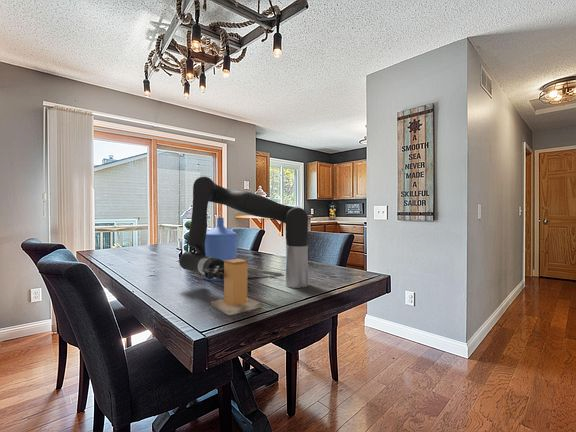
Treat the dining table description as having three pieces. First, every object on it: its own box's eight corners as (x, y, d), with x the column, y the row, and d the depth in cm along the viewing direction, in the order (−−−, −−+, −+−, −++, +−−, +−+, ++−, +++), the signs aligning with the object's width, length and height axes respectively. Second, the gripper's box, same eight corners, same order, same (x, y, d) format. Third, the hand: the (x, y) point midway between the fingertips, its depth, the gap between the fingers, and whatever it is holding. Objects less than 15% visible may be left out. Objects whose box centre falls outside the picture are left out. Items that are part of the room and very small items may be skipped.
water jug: (227, 282, 135) (228, 218, 134) (196, 279, 140) (196, 218, 139) (242, 275, 150) (242, 217, 149) (213, 272, 155) (213, 217, 154)
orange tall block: (238, 298, 107) (238, 258, 107) (247, 302, 103) (247, 260, 102) (224, 301, 103) (224, 260, 103) (232, 305, 99) (232, 262, 99)
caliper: (242, 278, 145) (242, 265, 145) (241, 277, 146) (242, 264, 146) (284, 276, 151) (284, 263, 150) (283, 275, 152) (283, 262, 151)
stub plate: (241, 298, 112) (241, 282, 111) (260, 307, 103) (260, 289, 102) (210, 305, 104) (210, 288, 104) (229, 315, 95) (229, 296, 95)
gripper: (193, 259, 111) (215, 266, 99) (228, 255, 120) (252, 261, 108) (193, 280, 111) (215, 289, 99) (228, 274, 121) (251, 282, 108)
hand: (234, 275), depth 104 cm, fingers open, 8 cm apart
